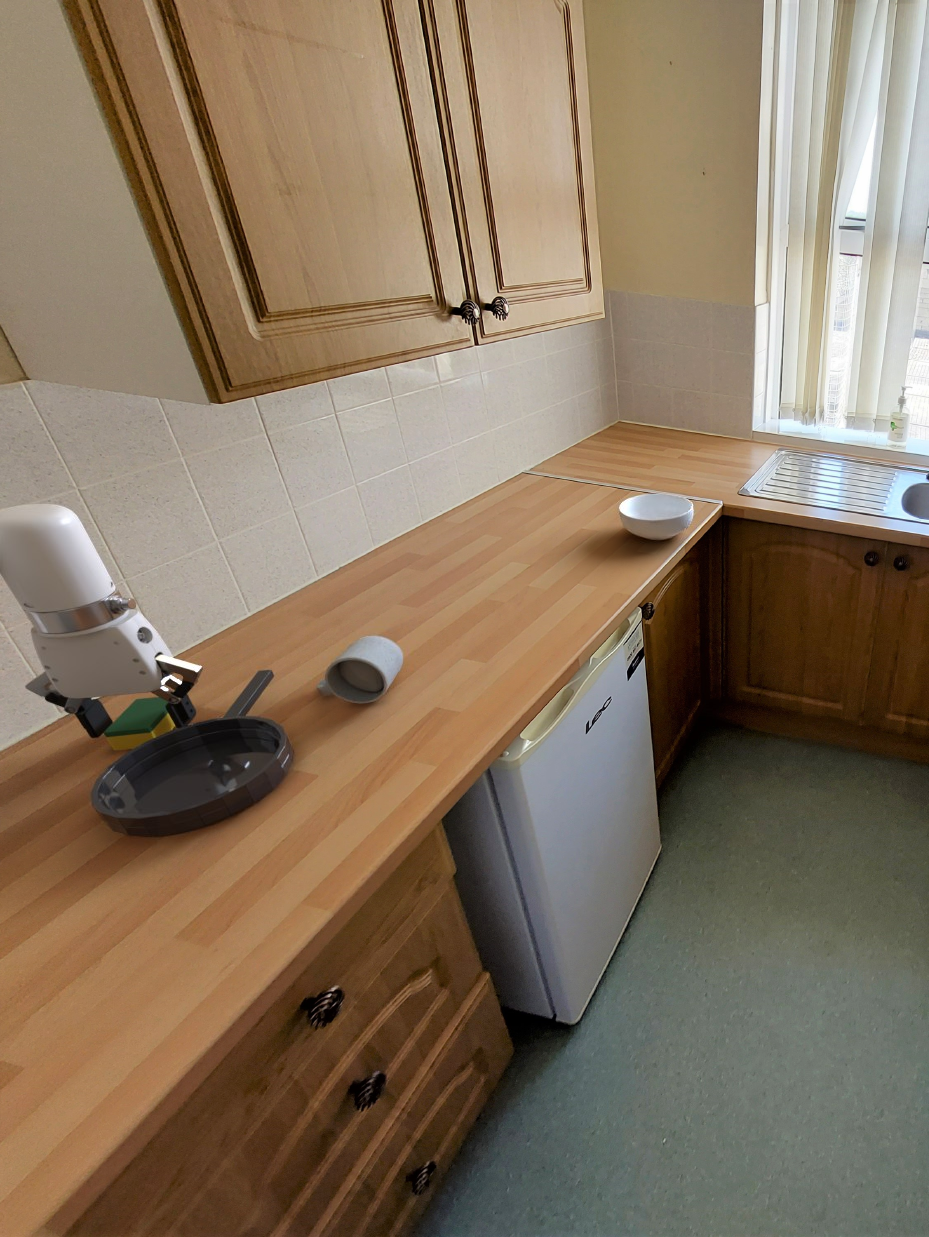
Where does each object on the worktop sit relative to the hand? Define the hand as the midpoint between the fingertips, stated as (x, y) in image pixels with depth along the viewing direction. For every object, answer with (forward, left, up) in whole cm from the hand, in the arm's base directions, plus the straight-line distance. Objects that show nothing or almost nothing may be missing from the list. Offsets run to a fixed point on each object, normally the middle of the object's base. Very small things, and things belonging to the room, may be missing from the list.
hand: (145, 726), depth 84 cm
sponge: (0, 0, -1) cm, 1 cm away
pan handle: (+11, +2, +1) cm, 11 cm away
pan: (+11, -12, -1) cm, 16 cm away
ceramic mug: (+23, +5, -1) cm, 24 cm away
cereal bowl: (+69, +59, -1) cm, 91 cm away
